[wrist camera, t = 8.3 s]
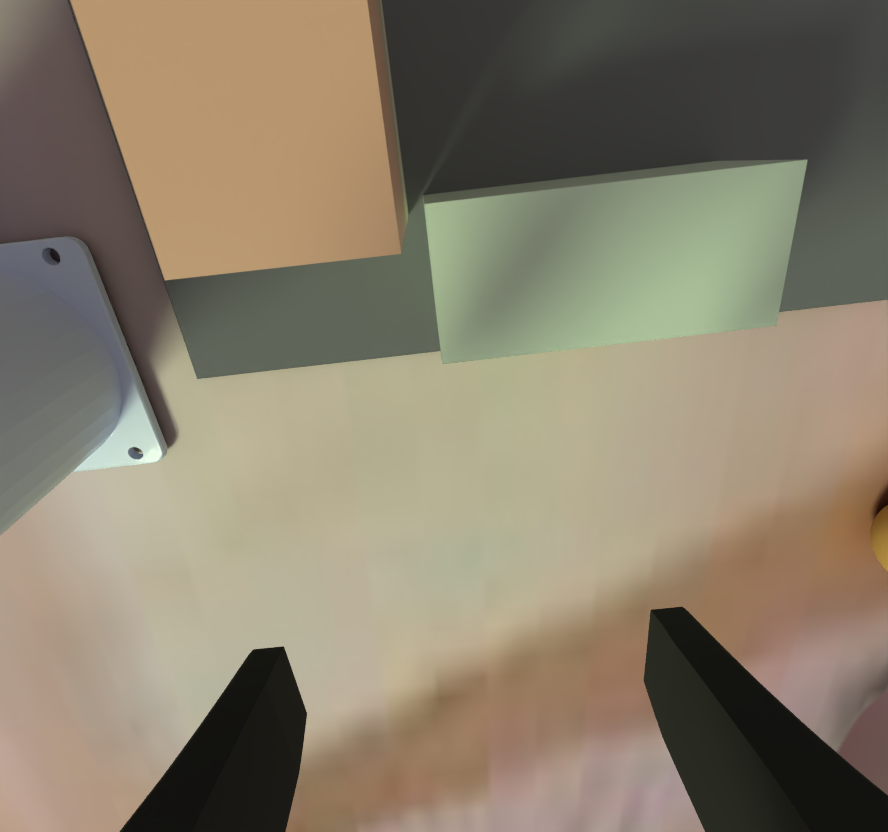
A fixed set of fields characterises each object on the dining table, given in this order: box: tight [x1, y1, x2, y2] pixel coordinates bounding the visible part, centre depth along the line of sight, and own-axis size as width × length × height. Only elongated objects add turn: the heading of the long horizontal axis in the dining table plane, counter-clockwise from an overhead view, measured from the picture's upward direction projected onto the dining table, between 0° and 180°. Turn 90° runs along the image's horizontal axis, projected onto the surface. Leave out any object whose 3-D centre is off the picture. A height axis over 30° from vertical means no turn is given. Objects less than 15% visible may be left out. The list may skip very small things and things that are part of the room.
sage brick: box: [423, 160, 807, 364], centre depth 15 cm, size 9×4×4 cm, turn 96°
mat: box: [68, 0, 888, 379], centre depth 14 cm, size 26×18×1 cm
